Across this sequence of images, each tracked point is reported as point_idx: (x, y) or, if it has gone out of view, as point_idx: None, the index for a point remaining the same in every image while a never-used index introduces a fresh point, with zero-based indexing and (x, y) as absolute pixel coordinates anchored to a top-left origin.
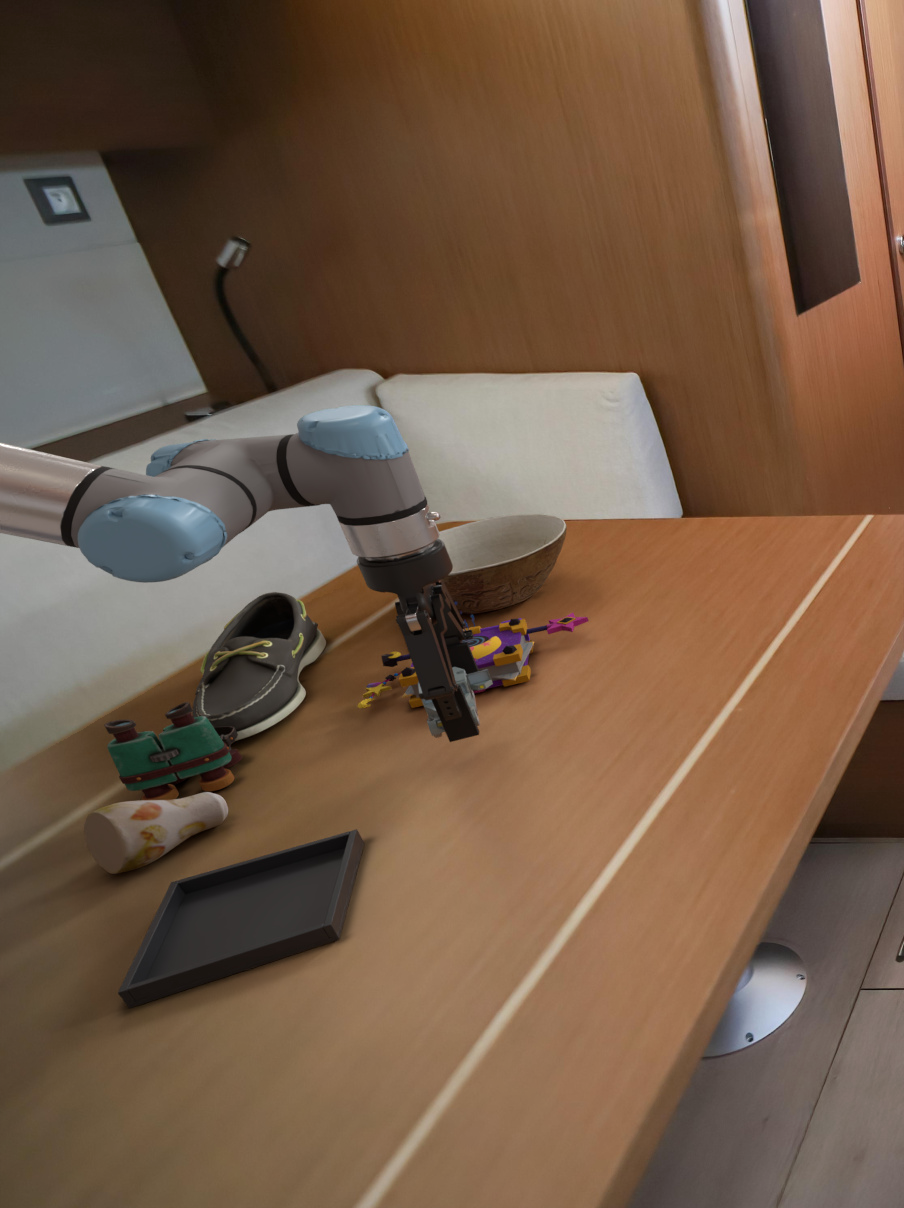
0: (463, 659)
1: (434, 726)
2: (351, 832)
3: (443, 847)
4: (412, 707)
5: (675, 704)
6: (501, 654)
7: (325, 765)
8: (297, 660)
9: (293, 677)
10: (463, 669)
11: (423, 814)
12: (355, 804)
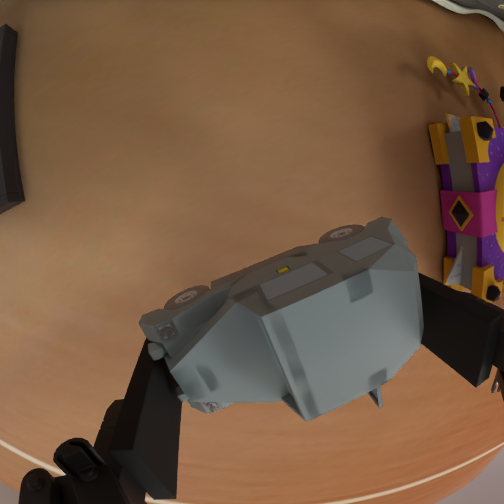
0: (448, 345)
1: (149, 336)
2: (2, 198)
3: (10, 317)
4: (428, 126)
5: (288, 479)
6: (490, 279)
7: (290, 32)
8: (496, 9)
9: (474, 2)
10: (428, 323)
11: (71, 262)
12: (131, 125)
